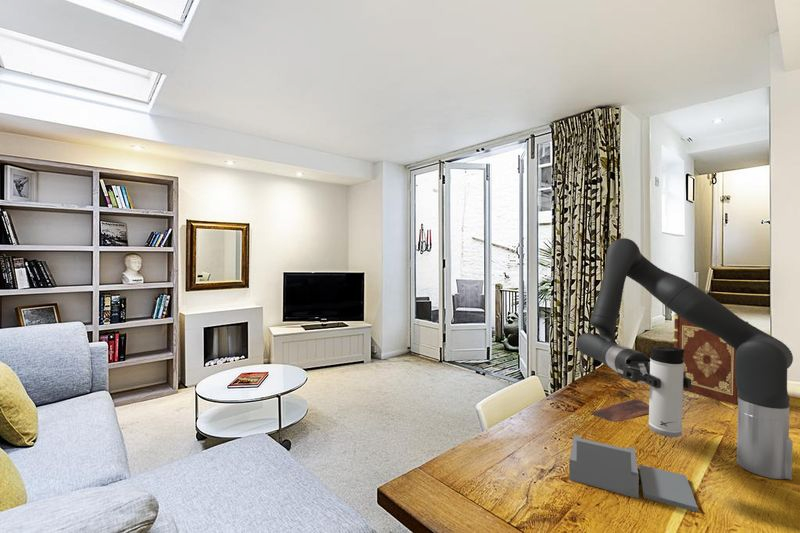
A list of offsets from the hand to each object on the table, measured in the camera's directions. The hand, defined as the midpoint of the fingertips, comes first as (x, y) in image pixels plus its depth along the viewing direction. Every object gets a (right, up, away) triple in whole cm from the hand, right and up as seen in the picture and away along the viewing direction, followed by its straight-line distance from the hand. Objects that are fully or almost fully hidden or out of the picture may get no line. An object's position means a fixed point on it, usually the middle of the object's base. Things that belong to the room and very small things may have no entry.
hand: (674, 384), depth 81 cm
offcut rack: (-11, -25, +9) cm, 29 cm away
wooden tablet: (+17, -25, +46) cm, 55 cm away
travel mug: (0, -12, +3) cm, 12 cm away
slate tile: (0, -25, +3) cm, 25 cm away
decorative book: (+59, -24, +62) cm, 89 cm away
